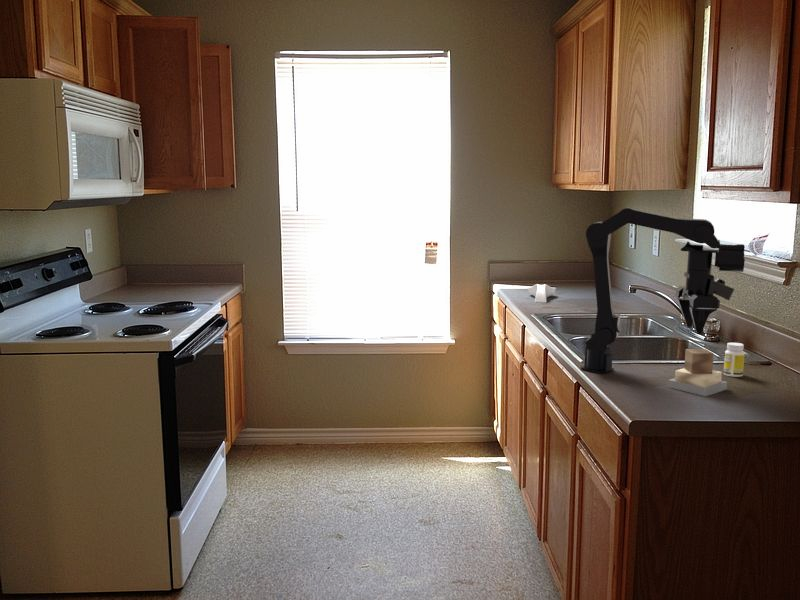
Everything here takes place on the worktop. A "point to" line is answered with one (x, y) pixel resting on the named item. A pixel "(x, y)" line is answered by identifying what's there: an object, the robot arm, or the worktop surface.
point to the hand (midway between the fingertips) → (693, 330)
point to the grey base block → (698, 387)
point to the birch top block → (698, 377)
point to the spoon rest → (541, 292)
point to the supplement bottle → (734, 360)
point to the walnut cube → (699, 361)
